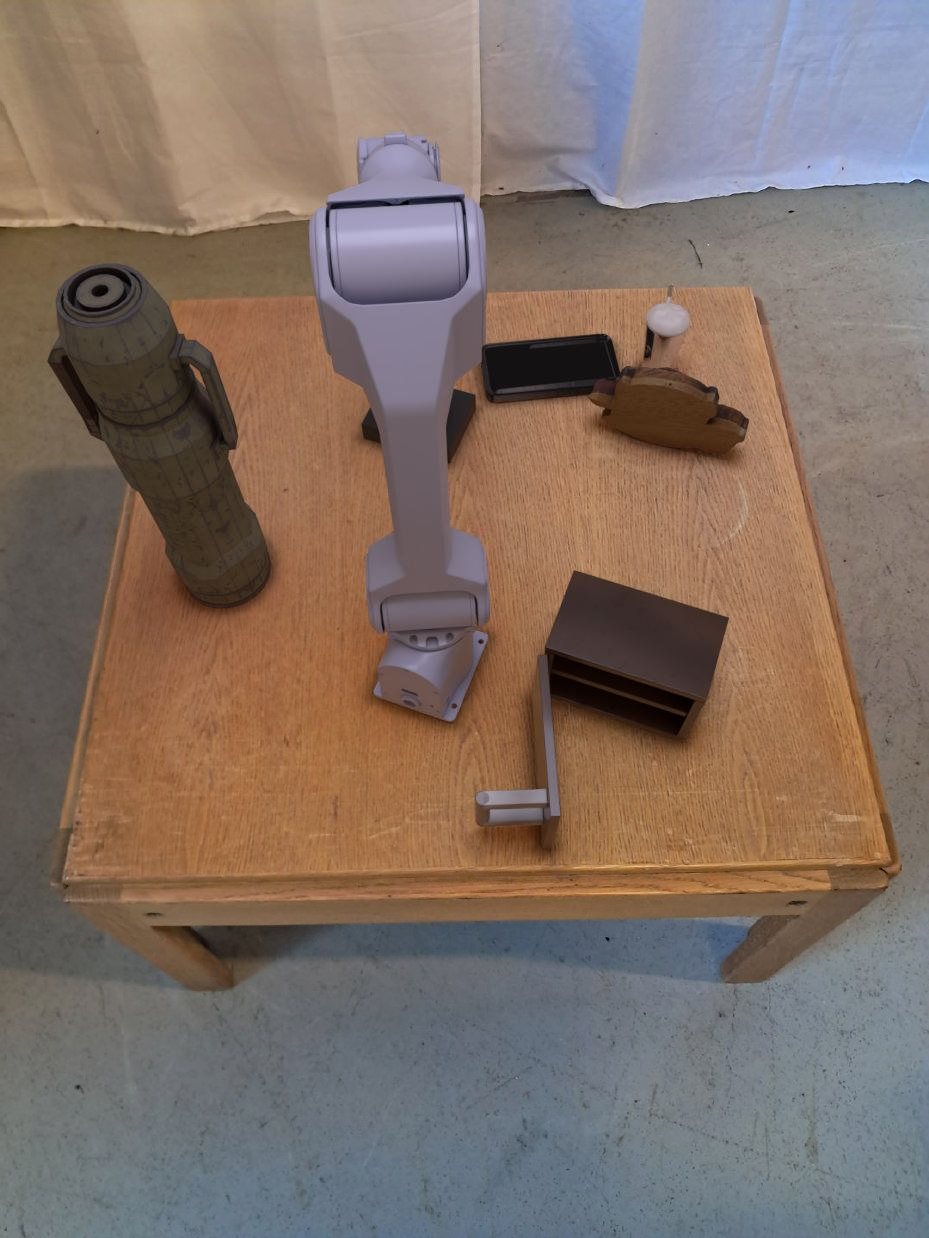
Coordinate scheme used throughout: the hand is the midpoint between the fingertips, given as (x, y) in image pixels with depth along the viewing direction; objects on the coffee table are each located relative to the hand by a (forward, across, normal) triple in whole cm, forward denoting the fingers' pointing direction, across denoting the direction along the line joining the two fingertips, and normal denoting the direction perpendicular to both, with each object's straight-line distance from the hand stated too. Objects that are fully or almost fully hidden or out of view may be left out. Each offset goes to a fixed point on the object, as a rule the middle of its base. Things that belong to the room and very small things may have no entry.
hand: (416, 378), depth 93 cm
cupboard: (+7, -22, -29) cm, 37 cm away
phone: (+7, +12, -11) cm, 18 cm away
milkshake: (+7, +16, -22) cm, 28 cm away
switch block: (+7, 0, 0) cm, 7 cm away
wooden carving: (+7, +7, -25) cm, 27 cm away
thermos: (+7, -24, +11) cm, 27 cm away
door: (+7, -34, -22) cm, 41 cm away
